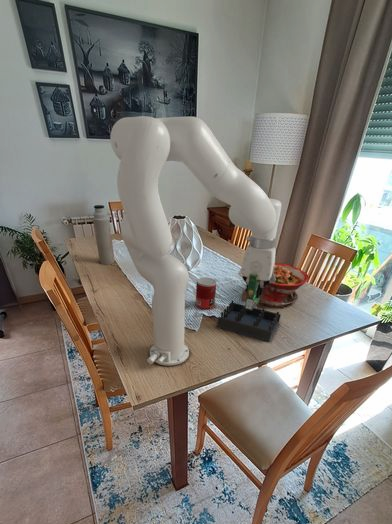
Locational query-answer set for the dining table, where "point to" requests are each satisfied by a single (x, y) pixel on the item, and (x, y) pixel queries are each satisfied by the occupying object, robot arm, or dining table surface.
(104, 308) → the dining table surface
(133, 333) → the dining table surface
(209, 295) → the canned food
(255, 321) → the rack
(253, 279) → the coffee box
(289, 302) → the stew
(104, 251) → the thermos bottle
